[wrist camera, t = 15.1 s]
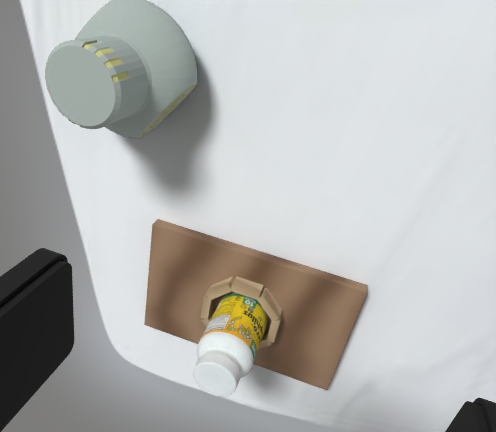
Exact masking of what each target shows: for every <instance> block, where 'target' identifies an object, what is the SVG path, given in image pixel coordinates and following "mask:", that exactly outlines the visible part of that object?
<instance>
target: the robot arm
mask: <svg viewBox="0 0 496 432" xmlns="http://www.w3.org/2000/svg"><path fill="white" fill-rule="evenodd" d="M72 291H73V289H72V266H71V265H70V264H69V263H68V261H67V258H66V256H64V255H62V254H59V253H56V252H53V251H50V250H48V249H45V248H41V249H38V250H37V251H35V252H34V253H33V254H31V255H30V256H28V257H27V258H25V259H24V260H23V261H21V262H20V263H19V264H17V265H16V266H14V267H13V268H12V269H10V270H9V271H8V272H6V273H5V274H3V275H2V276H1V277H0V432H1V431H2V430H3V428H4V427H5V426H6V425H7V424H8V423H9V422H10V421H11V420H12V418H13V417H14V416H15V415H16V414H17V413H18V412H19V410H20V409H21V408H22V407H23V406H24V405H25V404H26V402H27V401H28V400H29V399H30V398H31V397H32V396H33V395H34V393H35V392H36V391H37V390H38V389H39V388H40V387H41V385H42V384H43V383H44V382H45V381H46V380H47V379H48V378H49V376H50V375H51V374H52V373H53V372H54V371H55V370H56V369H57V367H58V366H59V365H60V364H61V363H62V362H63V361H64V359H65V358H66V357H67V356H68V355H69V353H70V352H71V350H72V347H73V344H74V321H73V320H74V318H73V292H72ZM445 432H496V403H494V402H491V401H488V400H485V399H482V398H477V399H476V400H475V401H474V402H473V403H472V402H469V401H467V402H465V403H464V405H463V406H462V408H461V409H460V411H459V412H458V414H457V415H456V416H455V418H454V419H453V421H452V422H451V424H450V425H449V427H448V428H447V430H446V431H445Z"/></svg>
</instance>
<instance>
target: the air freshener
mask: <svg viewBox="0 0 496 432" xmlns="http://www.w3.org/2000/svg"><path fill="white" fill-rule="evenodd" d="M45 78H46V85H47V89H48V92H49V94H50V97H51V99H52V101H53V103H54V104H55V106H56V107H57V108H58V110H59V111H60V112H61V113H62V115H63V116H65V117H67V118H68V120H69V121H71V122H72V123H74V124H78V125H80V126H81V127H83V128H87V129H99V128H102V127H106V128H107V129H109V130H111V131H113V132H115V133H117V134H120V135H122V136H126V137H130V138H142V137H143V136H145V135H146V134H148V133H149V132H150V131H151V130H153V129H154V128H155V127H156V126H157V125H158V124H160V123H161V122H162V121H163V120H164V119H165V118H166V117H167V116H168V115H169V114H170V113H171V112H173V111H174V110H175V109H176V108H177V107H178V106H179V105H180V104H181V103H182V102H183V100H184V99H185V98H186V97H187V96H188V95H189V94H190V93H191V92H192V90H193V89H194V88H195V86H196V85H197V67H196V60H195V57H194V53H193V50H192V47H191V45H190V43H189V40H188V38H187V37H186V35H185V33H184V32H183V30H182V29H181V27H180V26H179V25H178V24H177V22H176V21H175V20H174V19H173V18H172V17H171V16H170V15H169V14H168V13H166V12H165V11H164V10H163V9H161V8H159V7H158V6H156V5H155V4H153V3H151V2H148V1H146V0H111V1H110V2H108V3H107V4H106V5H105V6H103V7H102V8H101V9H100V10H99V11H98V12H97V13H96V14H95V15H94V16H93V17H92V18H91V19H90V20H89V21H88V22H87V24H86V25H85V26H84V27H83V29H82V30H81V31H80V32H79V34H78V35H77V37H76V38H75V40H71V41H66V42H63V43H61V44H59V45H58V46H57V47H55V48H54V50H53V51H52V52H51V54H50V55H49V57H48V60H47V63H46V69H45Z"/></svg>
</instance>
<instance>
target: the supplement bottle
mask: <svg viewBox="0 0 496 432" xmlns="http://www.w3.org/2000/svg"><path fill="white" fill-rule="evenodd" d="M267 322H268V314H267V313H266V311H265V310H264V309H263V307H262V306H261V304H260V303H259V302H258V300H256V299H253V298H250V297H247V296H244V295H241V294H238V293H235V292H230V293H228V294H226V295H225V296H224V297H223V298H222V300H221V301H220V303H219V305H218V307H217V309H216V310H215V312H214V314H213V316H212V318H211V320H210V322H209V324H208V326H207V328H206V330H205V331H204V333H203V335H202V337H201V339H200V341H199V344H198V347H197V355H198V362H197V364H196V366H195V368H194V371H193V376H194V380H195V382H196V383H197V385H198V386H199V387H200V388H201V389H203V390H204V391H205V392H207V393H209V394H212V395H215V396H228V395H230V394H232V393H233V392H234V391H235V390H236V388H237V385H238V383H239V381H240V378H242V377H244V376H245V375H246V374H247V373H248V372H249V371H250V369H251V368H252V366H253V363H254V360H255V357H256V353H257V351H258V348H259V345H260V342H261V339H262V336H263V334H264V331H265V328H266V325H267Z"/></svg>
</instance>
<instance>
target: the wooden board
mask: <svg viewBox="0 0 496 432" xmlns="http://www.w3.org/2000/svg"><path fill="white" fill-rule="evenodd" d="M230 292H235V293H238V294H241V295H244V296H247V297H250V298H253V299H256V300H258V302H259V303H260V304H261V306H262V307H263V309H264V310H265V311H266V313H267V314H268V322H267V325H266V328H265V331H264V334H263V336H262V339H261V342H260V345H259V348H258V351H257V353H256V357H255V360H254V363H253V364H255V365H258V366H261V367H264V368H266V369H269V370H272V371H275V372H278V373H280V374H283V375H286V376H289V377H292V378H294V379H297V380H300V381H303V382H305V383H308V384H311V385H314V386H317V387H319V388H322V389H325V390H327V388H328V386H329V384H330V381H331V379H332V376H333V374H334V372H335V369H336V367H337V364H338V362H339V359H340V357H341V355H342V352H343V350H344V347H345V345H346V342H347V340H348V338H349V335H350V333H351V330H352V328H353V326H354V323H355V321H356V318H357V316H358V313H359V311H360V309H361V306H362V304H363V301H364V299H365V297H366V294H367V285H365V284H362V283H358V282H355V281H352V280H349V279H346V278H343V277H339V276H336V275H333V274H330V273H327V272H324V271H320V270H317V269H314V268H311V267H308V266H305V265H301V264H298V263H295V262H292V261H289V260H286V259H282V258H279V257H276V256H273V255H270V254H267V253H263V252H260V251H257V250H254V249H251V248H248V247H244V246H241V245H238V244H235V243H232V242H229V241H225V240H222V239H219V238H216V237H213V236H210V235H206V234H203V233H200V232H197V231H194V230H191V229H187V228H184V227H181V226H178V225H175V224H172V223H168V222H165V221H162V220H159V219H158V220H157V221H156V222H155V223H154V224H153V226H152V238H151V251H150V263H149V276H148V288H147V301H146V313H145V325H147V326H150V327H152V328H155V329H158V330H161V331H164V332H166V333H169V334H172V335H175V336H177V337H180V338H183V339H186V340H189V341H191V342H194V343H197V344H199V341H200V339H201V337H202V335H203V333H204V331H205V330H206V328H207V326H208V324H209V322H210V320H211V318H212V316H213V314H214V312H215V310H216V309H217V307H218V305H219V303H220V301H221V300H222V298H223V297H224V296H225V295H226V294H228V293H230Z"/></svg>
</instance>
